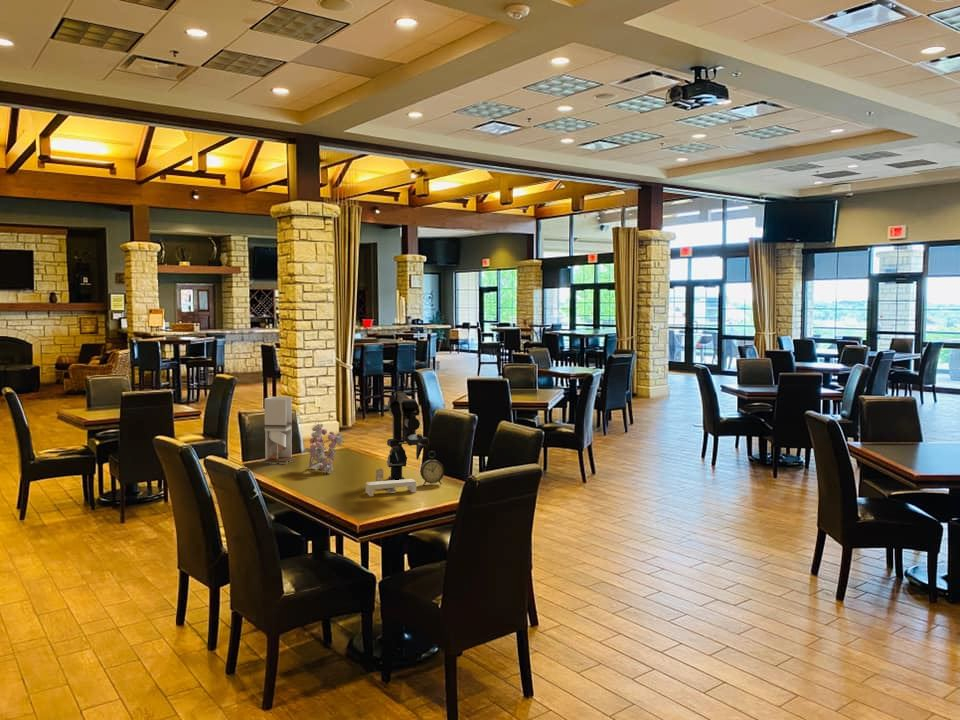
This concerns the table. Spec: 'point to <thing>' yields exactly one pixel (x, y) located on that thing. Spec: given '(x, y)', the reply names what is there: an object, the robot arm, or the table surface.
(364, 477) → the table surface
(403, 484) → the cream bench
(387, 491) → the steel disc
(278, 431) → the grey dispenser
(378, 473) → the birch pusher
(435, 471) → the alarm clock
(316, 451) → the flower
